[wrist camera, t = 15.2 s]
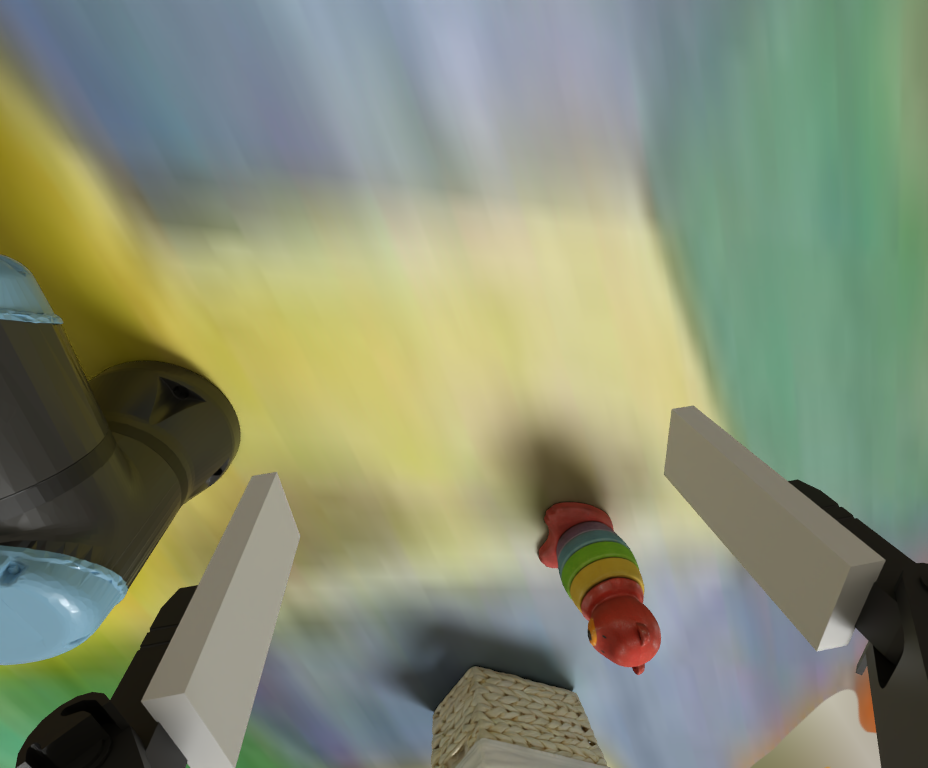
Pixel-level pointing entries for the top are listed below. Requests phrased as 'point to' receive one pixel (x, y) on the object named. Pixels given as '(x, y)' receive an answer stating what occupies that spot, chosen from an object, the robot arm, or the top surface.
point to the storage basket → (511, 725)
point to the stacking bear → (601, 583)
